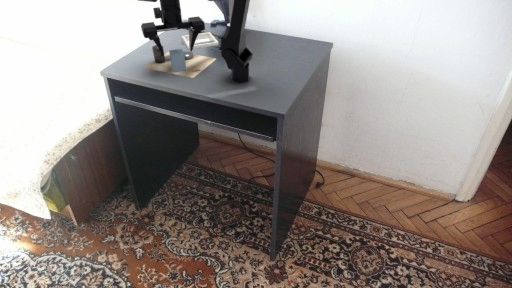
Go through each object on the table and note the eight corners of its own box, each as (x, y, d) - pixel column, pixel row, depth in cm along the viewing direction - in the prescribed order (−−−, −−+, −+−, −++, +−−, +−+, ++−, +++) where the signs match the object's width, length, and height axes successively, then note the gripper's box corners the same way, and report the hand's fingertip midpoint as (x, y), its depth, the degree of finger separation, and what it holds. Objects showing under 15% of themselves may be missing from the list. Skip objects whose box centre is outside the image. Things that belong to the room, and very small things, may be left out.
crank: (191, 53, 127) (190, 39, 124) (194, 58, 124) (193, 44, 121) (153, 59, 123) (151, 45, 120) (155, 64, 119) (153, 50, 116)
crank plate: (217, 62, 125) (216, 58, 124) (193, 82, 113) (193, 77, 112) (171, 53, 130) (170, 49, 129) (144, 71, 119) (144, 67, 118)
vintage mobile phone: (241, 34, 146) (240, -31, 131) (230, 33, 147) (227, -32, 132) (243, 31, 149) (242, -33, 134) (232, 30, 150) (230, -34, 135)
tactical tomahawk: (230, 36, 148) (230, 34, 147) (220, 40, 143) (220, 37, 142) (192, 26, 156) (192, 23, 156) (181, 29, 151) (181, 26, 151)
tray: (218, 48, 135) (218, 42, 133) (189, 53, 131) (188, 46, 130) (210, 38, 143) (209, 32, 142) (182, 42, 140) (181, 35, 138)
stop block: (186, 70, 116) (184, 53, 113) (174, 72, 115) (171, 55, 111) (183, 65, 119) (181, 48, 116) (171, 67, 118) (169, 50, 114)
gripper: (194, -7, 113) (198, 40, 123) (134, -1, 107) (144, 48, 117) (203, 2, 105) (207, 52, 114) (139, 9, 99) (149, 61, 109)
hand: (177, 53), depth 114 cm, fingers open, 9 cm apart
